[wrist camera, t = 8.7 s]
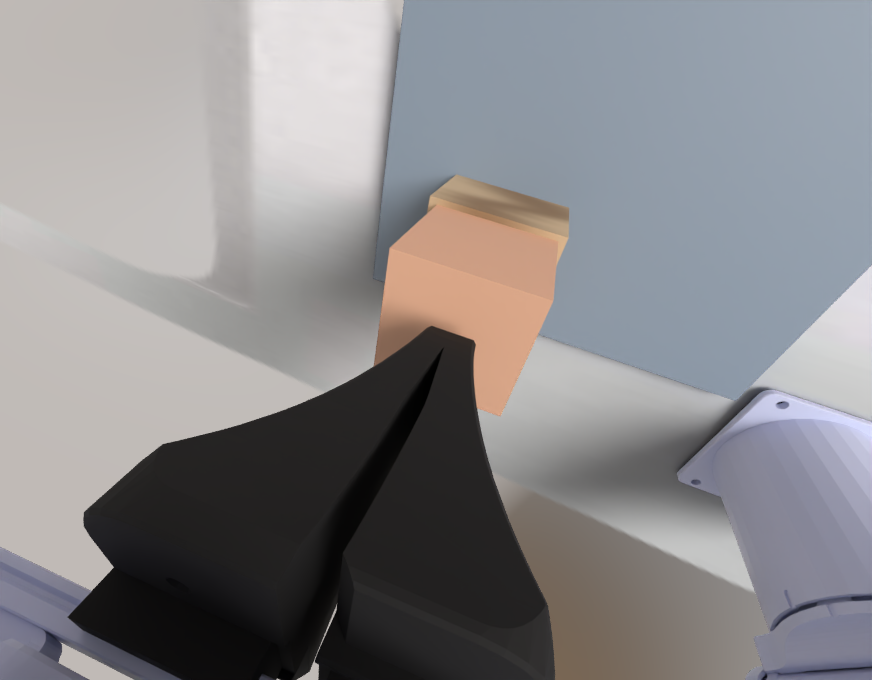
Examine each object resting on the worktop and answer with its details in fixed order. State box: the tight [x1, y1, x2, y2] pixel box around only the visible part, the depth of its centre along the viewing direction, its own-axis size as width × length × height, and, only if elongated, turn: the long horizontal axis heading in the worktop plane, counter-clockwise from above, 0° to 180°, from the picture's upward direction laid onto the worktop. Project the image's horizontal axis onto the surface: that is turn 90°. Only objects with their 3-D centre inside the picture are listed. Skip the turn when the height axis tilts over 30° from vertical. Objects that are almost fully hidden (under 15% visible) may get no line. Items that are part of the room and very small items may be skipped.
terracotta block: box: [374, 205, 558, 416], centre depth 13 cm, size 5×5×5 cm
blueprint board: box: [373, 0, 872, 401], centre depth 16 cm, size 20×16×1 cm
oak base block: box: [427, 175, 569, 266], centre depth 17 cm, size 5×5×4 cm
